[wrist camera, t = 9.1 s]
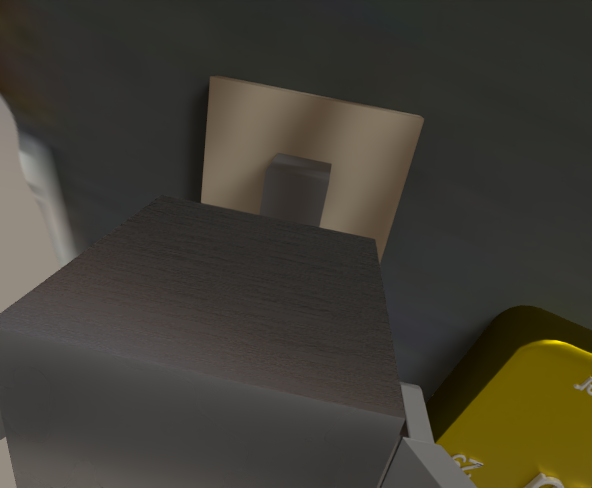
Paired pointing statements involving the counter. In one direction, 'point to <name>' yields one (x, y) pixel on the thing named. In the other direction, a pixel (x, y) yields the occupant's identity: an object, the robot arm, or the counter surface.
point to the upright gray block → (203, 358)
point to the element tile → (520, 404)
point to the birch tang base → (306, 157)
